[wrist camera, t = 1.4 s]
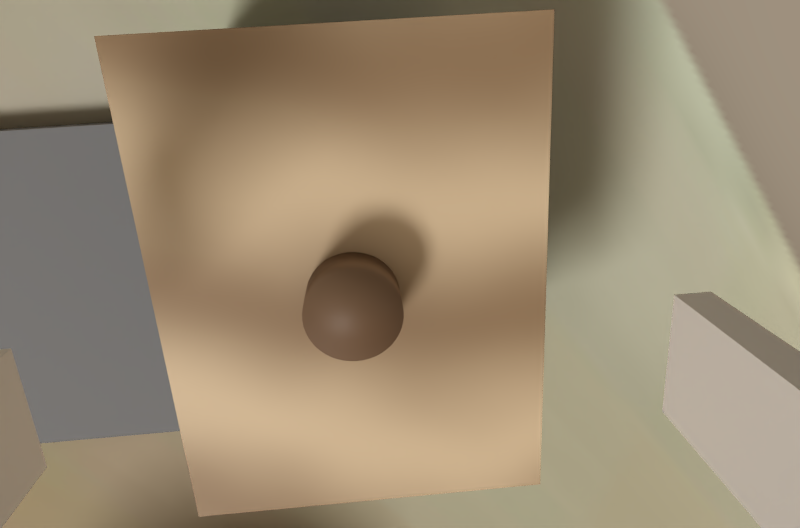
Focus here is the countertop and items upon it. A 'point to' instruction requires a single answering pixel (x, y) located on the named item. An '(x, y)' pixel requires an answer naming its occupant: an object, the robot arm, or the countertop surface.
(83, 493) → the countertop surface
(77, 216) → the mat
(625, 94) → the countertop surface
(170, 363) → the lid
